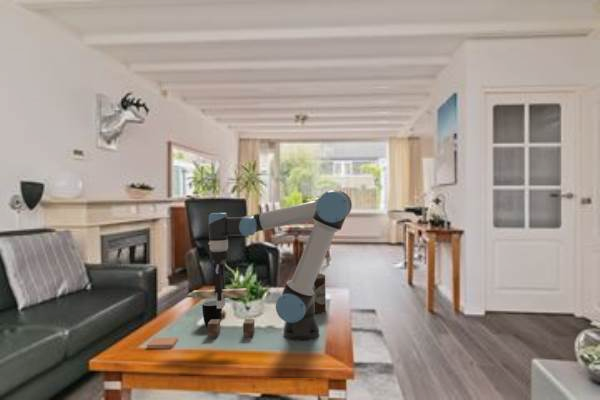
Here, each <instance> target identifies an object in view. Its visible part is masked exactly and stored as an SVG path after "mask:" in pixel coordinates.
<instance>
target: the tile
mask: <svg viewBox="0 0 600 400" xmlns="http://www.w3.org/2000/svg"><path fill="white" fill-rule="evenodd" d="M178 342H179V337H178V336H177V337H176V336H175V337H174V336H173V337H172V336H171V337H153V338H152V339H151V340H150V341H149V342H148V343H147V344H146V349H147V348H157V349H173V348H174V347H175V346H176V344H177V343H178Z"/></svg>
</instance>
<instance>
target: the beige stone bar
mask: <svg viewBox="0 0 600 400" xmlns="http://www.w3.org/2000/svg"><path fill="white" fill-rule="evenodd" d="M222 290H223V298H225V299H232V298H233V299H234V298H235V299H237V298H247V297H248V288H247V287H243V288H226V289H222ZM214 291H215V289H197V290H196V289H195V290H192V292H189V293H188V294H187V295H186V298H192V300H211V299H215V300H216V293H214Z"/></svg>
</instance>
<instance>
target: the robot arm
mask: <svg viewBox="0 0 600 400" xmlns="http://www.w3.org/2000/svg"><path fill="white" fill-rule="evenodd" d="M352 207H353V205H352V200H351V197H350V196H349V195H348V194H347V193H345V192H344V191H341V190H335V189H331V190H328V191H325V192H324V193H322V194H321V196H319V197H317V198H316V199H315V200H313V201H308V202H303V203H300V204H295V205H290V206H285V207H282V208H277V209H274V210H269V211H265V212H260V213H255V214H250V215H245V216H239V217H237V216H236V217H231V216H230V217H229V216H228V214H227V212H212V213H210V214H208V239H209V242H208V243H207V245H208V246H209V250H210V251H209V259H210V261H214V263H215V264H214V265H213V274H214V275H213V276H214V290H215V291H214V293H216V298H215V300H216V302H217V309H220V308H222V309H224V308H225V306H226V298H223V290H222V289H227V287H226V273H225V272H226V263H224V261H228V260H229V250H228V249H229V238H228V237H231V236H232V237H233V236H234V237H235V236H237V237H238V236H240V237H241V236H242V237H243V236H244V237H247V236H254V235H255V234H256V233H257V232H262V231H265V230H266V231H267V230H271V229H275V228H279V227H284V226H290V225H293V224H298V223H304V222H308V221H313V223H314V225H313V227H312V230H311V233H310V234H309V236H308V239H307V242H306V244H305V247H304V249H303V251H302V254H301V257H300V259H299V261H298V264H297V266H296V269H295V271H294V273H293V276H292V277H291V279H289V280H287V281H286V283H285V286H284V287H283V290H282V293H281V295H280V296H278V298H277V300H276V304H275V312H276V313H277V316H278V317H279V318H280V319H281V320H282V321H283V322H285V324H284V328H283V335H284V337H285V338H287V339H289V340H293V341H309V340H314V339H315V338H316V339H317V337H319V335H320V329H319V328H320V327H319V324H318V322H317V318H316V315H315V293H314V290H315V288H314V282H315V280H316V277H317V275H318V273H319V272H320V269H321V268H322V265H323V262H324V260H325V258H326V255H327V254H328V253H327V252H328V250H329V249H330V247H331V243H332V241H333V239H334V237H335V234H336V233H337V232H339V231H341V230H342V228H343V225H344V223H345V220H346V218H347V217H348V216H349V214H350V212H351V210H352ZM319 274H320V273H319Z"/></svg>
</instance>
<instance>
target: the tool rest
mask: <svg viewBox="0 0 600 400" xmlns="http://www.w3.org/2000/svg"><path fill="white" fill-rule="evenodd" d="M255 329H256V328H255V318H245V319H244V320H243V323H242V330H243V331H242V333H243V335H242V336H243V338H254V335H255V331H256V330H255ZM220 334H221V322H220V319H211V320H210V321H209V323H208V326H207V339H218V337H219V336H220Z"/></svg>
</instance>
